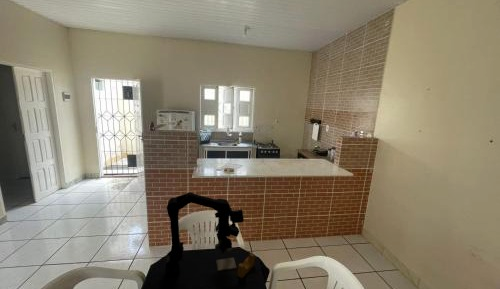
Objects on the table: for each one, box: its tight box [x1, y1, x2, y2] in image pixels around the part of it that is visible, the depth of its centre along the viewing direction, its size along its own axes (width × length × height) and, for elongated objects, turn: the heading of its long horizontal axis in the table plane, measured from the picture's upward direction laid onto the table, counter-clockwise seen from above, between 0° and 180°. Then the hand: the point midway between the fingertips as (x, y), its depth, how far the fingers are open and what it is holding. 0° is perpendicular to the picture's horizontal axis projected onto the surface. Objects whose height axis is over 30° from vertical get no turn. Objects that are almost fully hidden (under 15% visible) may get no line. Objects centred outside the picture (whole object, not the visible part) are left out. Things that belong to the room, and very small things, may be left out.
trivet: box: [215, 257, 238, 272], centre depth 119 cm, size 10×8×1 cm
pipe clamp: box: [237, 252, 256, 279], centre depth 115 cm, size 12×4×6 cm, turn 147°
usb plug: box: [214, 242, 233, 256], centre depth 117 cm, size 9×4×4 cm, turn 105°
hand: (222, 250), depth 117 cm, fingers closed on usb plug, 4 cm apart
